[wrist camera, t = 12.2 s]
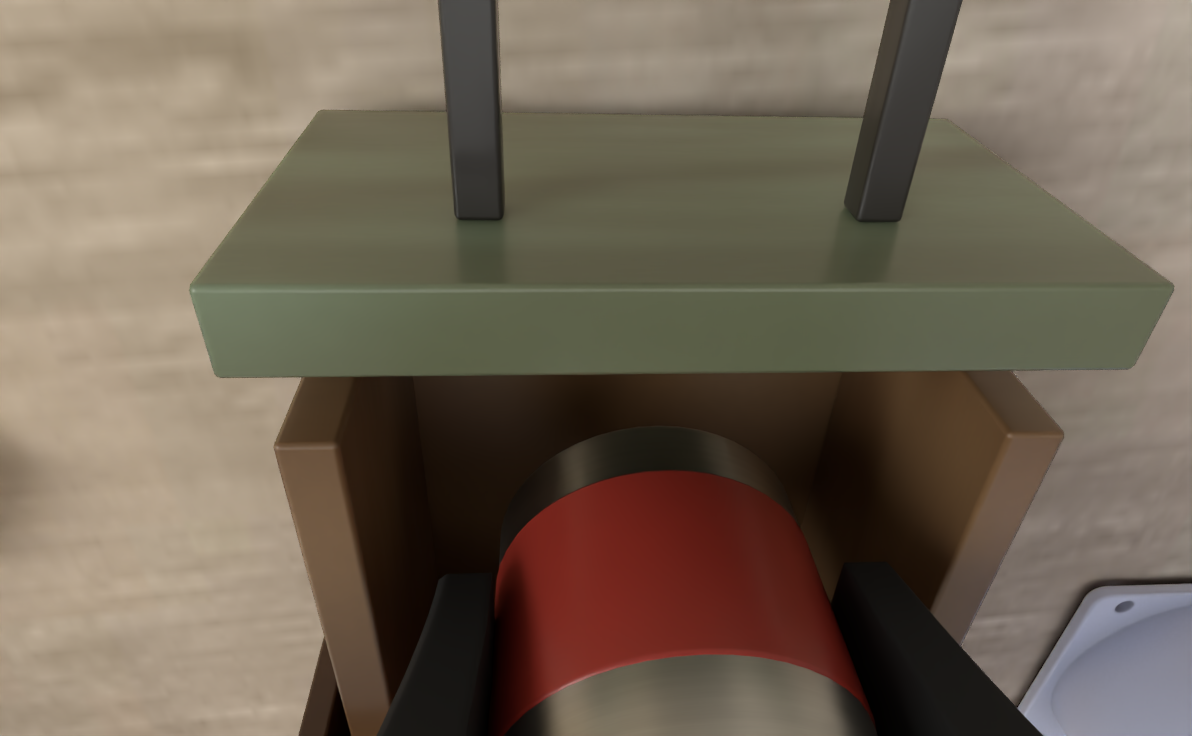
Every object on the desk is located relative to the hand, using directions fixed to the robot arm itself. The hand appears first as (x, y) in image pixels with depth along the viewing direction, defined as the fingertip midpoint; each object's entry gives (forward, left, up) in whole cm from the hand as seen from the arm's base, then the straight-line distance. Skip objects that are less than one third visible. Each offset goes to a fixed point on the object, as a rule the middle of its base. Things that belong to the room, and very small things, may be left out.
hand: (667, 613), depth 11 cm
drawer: (0, -1, -6) cm, 6 cm away
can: (0, +1, -2) cm, 2 cm away
